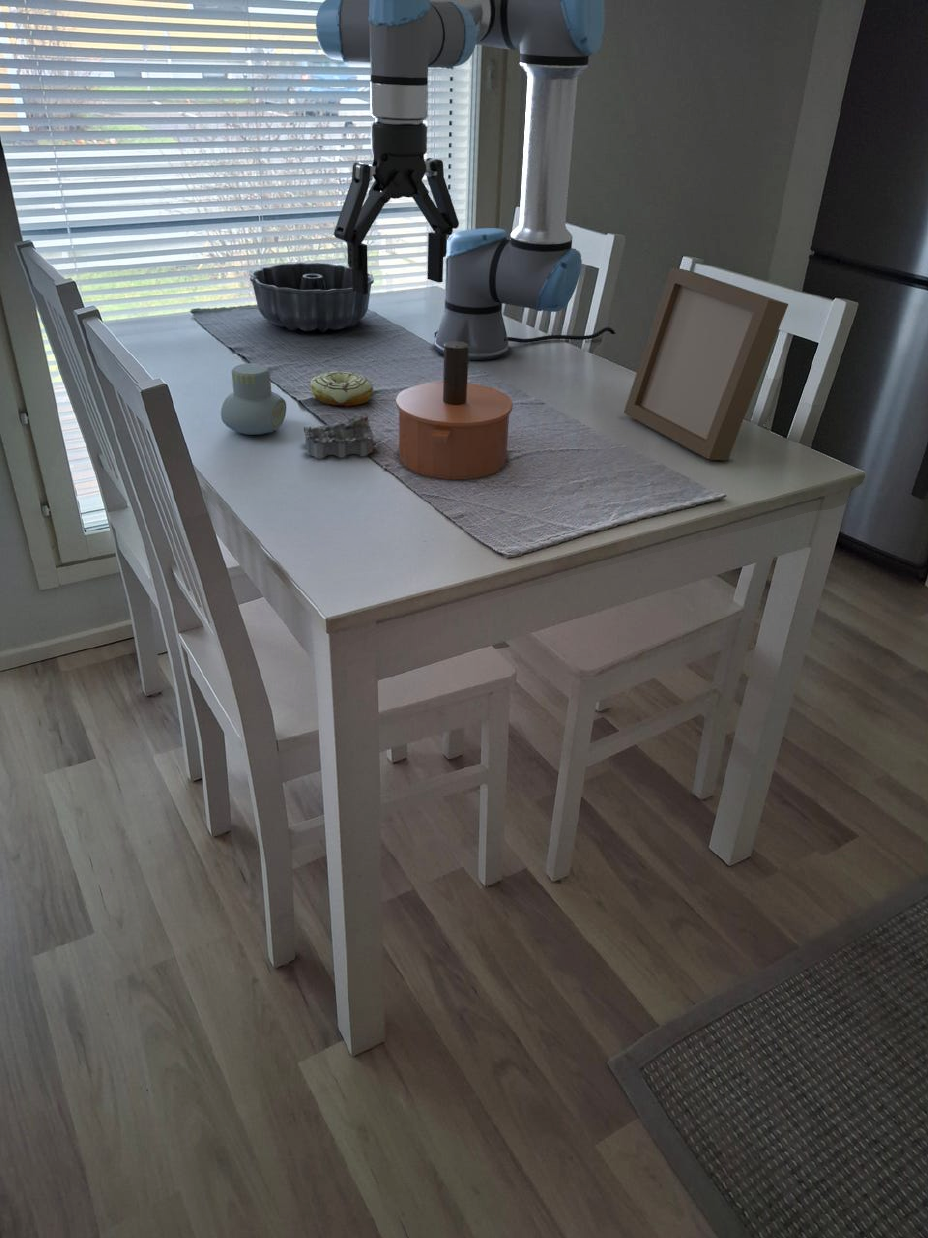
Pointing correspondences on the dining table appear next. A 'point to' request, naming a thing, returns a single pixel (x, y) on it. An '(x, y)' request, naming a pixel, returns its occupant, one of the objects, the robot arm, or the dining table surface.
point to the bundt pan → (309, 296)
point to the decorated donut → (341, 388)
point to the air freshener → (253, 402)
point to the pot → (452, 448)
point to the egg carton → (340, 439)
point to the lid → (454, 396)
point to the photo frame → (703, 361)
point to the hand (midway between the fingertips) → (398, 286)
